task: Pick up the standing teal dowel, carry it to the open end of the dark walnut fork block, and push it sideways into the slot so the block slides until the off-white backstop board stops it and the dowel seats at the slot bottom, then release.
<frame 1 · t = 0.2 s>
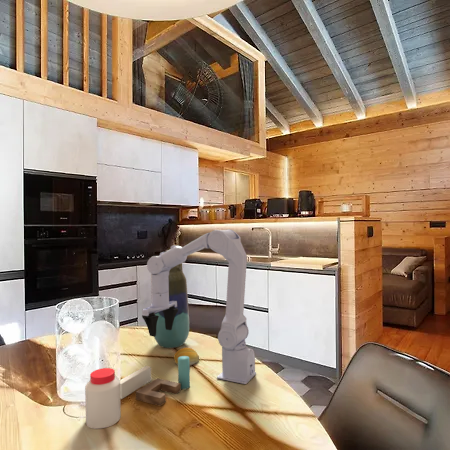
hand: (160, 332, 115), 10 cm above the table, fingers open, 7 cm apart
dowel: (184, 386, 97), on the table
bread roll: (186, 361, 116), on the table
vase: (171, 345, 132), on the table
pill bottle: (103, 420, 81), on the table
block: (158, 391, 93), point 1 cm above the table, slide at 0.0 cm
backstop board: (134, 388, 97), on the table
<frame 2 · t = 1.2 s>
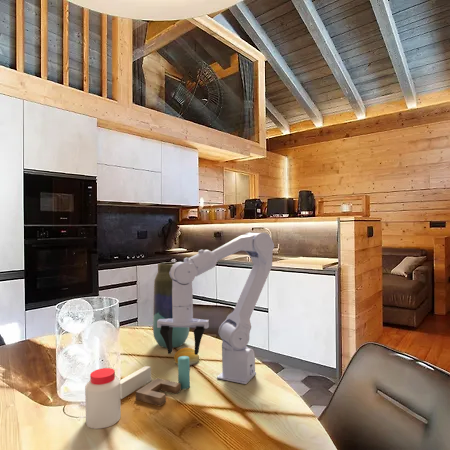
hand: (183, 352, 97), 9 cm above the table, fingers open, 7 cm apart
nothing on the table moved.
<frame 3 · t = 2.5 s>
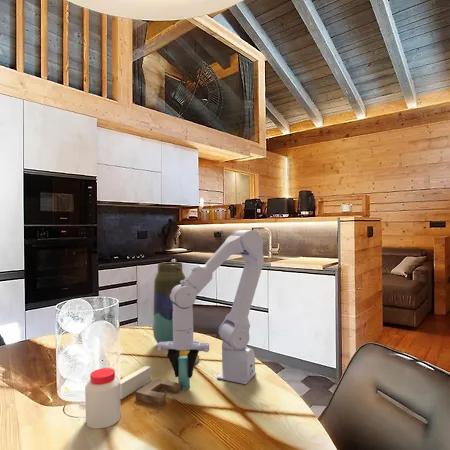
hand: (184, 376, 97), 3 cm above the table, fingers closed on dowel, 3 cm apart
dowel: (184, 386, 97), on the table, touching gripper
everything else where it was.
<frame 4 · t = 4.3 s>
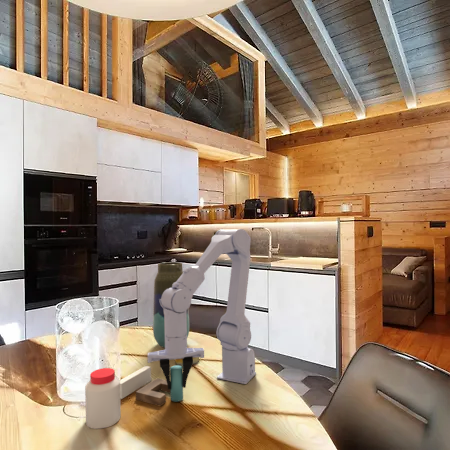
hand: (176, 386, 90), 3 cm above the table, fingers closed on dowel, 3 cm apart
dowel: (176, 398, 90), on the table, touching gripper
everything else where it was.
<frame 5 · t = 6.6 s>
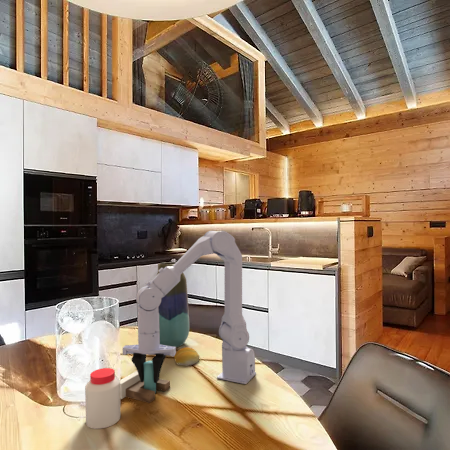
hand: (149, 380, 94), 3 cm above the table, fingers closed on dowel, 3 cm apart
dowel: (150, 392, 94), on the table, touching block, gripper
block: (148, 388, 94), point 1 cm above the table, slide at 3.5 cm, touching backstop board, dowel
everything else where it was.
when the fingers open (3 cm above the table, at t = 7.7 s): dowel stays where it is, on the table.
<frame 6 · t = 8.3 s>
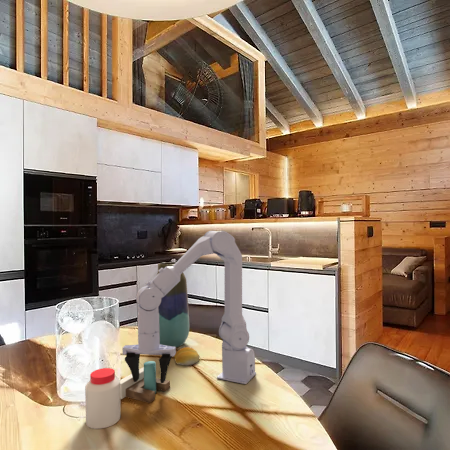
hand: (149, 380, 94), 3 cm above the table, fingers open, 7 cm apart
dowel: (150, 392, 94), on the table
block: (148, 388, 94), point 1 cm above the table, slide at 3.5 cm, touching backstop board
everything else where it was.
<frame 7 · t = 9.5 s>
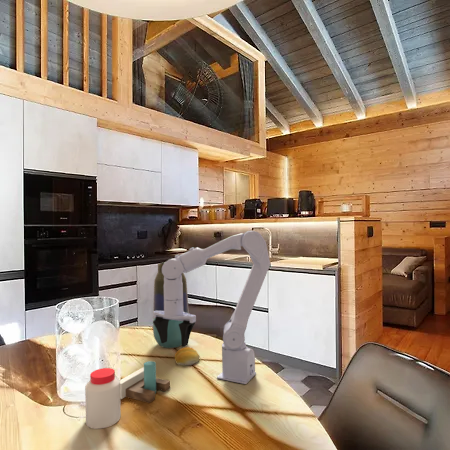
hand: (174, 344, 104), 10 cm above the table, fingers open, 7 cm apart
nothing on the table moved.
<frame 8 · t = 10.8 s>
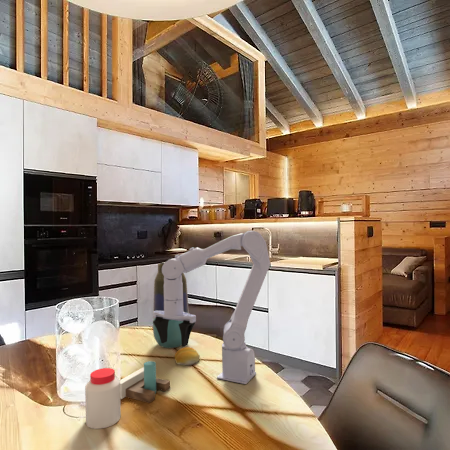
hand: (174, 344, 104), 10 cm above the table, fingers open, 7 cm apart
nothing on the table moved.
at the end: block slide at 3.5 cm; dowel 0.3 cm from the target spot on the block, point 0.0 cm above the block's base; dowel tilted 0° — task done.
